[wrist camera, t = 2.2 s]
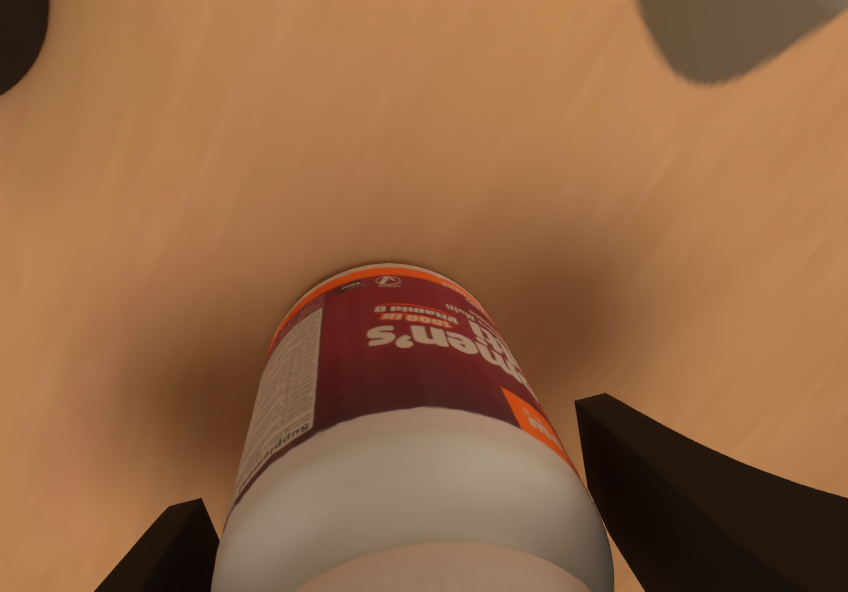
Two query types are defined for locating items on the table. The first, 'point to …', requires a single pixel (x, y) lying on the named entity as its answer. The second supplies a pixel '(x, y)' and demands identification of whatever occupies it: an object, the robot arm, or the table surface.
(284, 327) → the pill bottle
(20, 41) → the flashlight
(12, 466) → the table surface
